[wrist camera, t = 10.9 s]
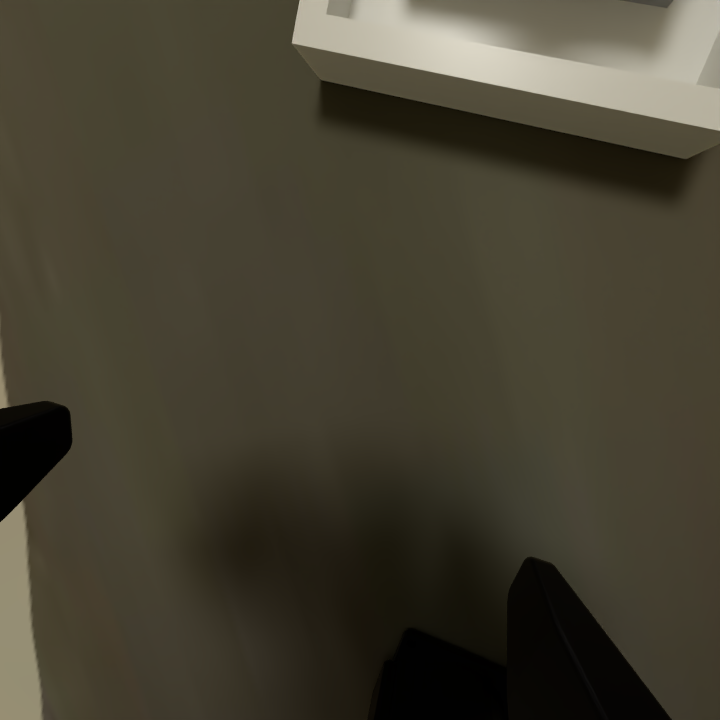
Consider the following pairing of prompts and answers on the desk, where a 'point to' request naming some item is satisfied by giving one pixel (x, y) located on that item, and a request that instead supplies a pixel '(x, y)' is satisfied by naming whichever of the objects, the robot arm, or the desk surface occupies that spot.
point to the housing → (534, 62)
